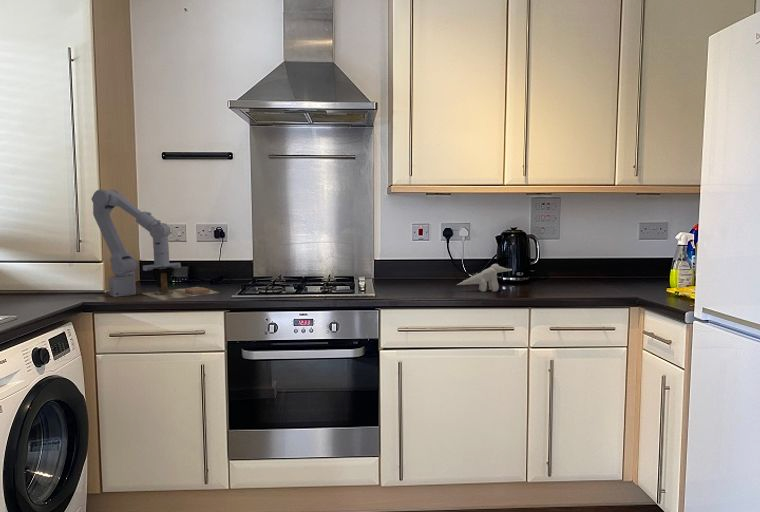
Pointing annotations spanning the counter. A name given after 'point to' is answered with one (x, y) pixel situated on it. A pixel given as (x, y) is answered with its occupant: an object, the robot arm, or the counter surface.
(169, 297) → the board
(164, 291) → the wooden post on base
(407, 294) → the counter surface
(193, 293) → the tile
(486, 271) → the dinosaur statue
